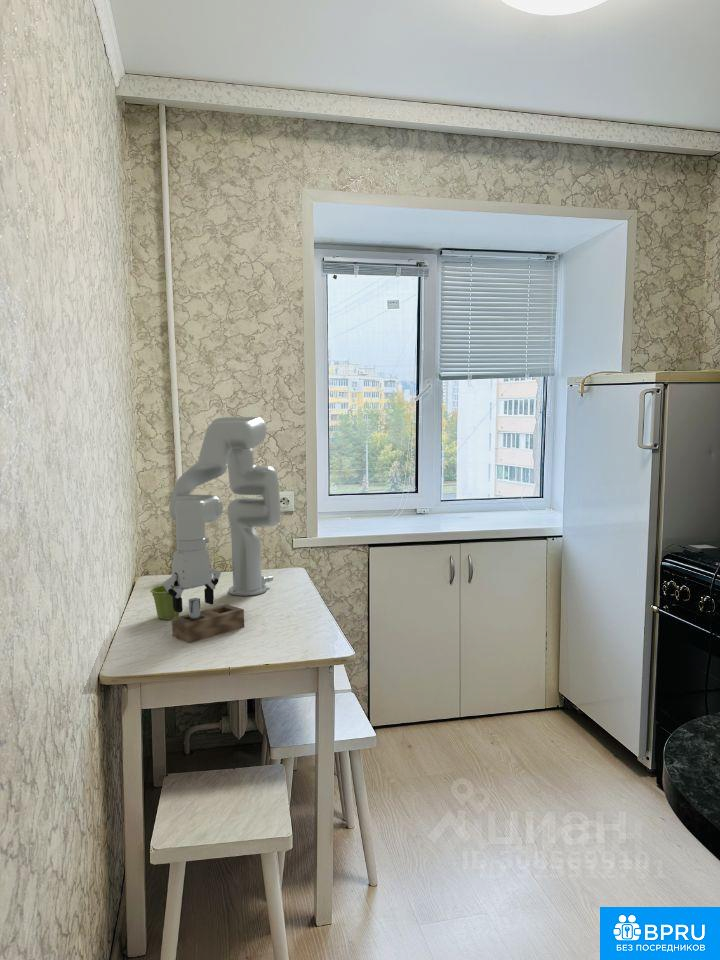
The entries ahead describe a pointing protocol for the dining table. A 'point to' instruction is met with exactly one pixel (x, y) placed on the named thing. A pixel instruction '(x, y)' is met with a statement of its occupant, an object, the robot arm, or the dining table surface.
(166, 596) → the plant pot
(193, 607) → the pin
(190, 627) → the socket block
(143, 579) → the dining table surface
